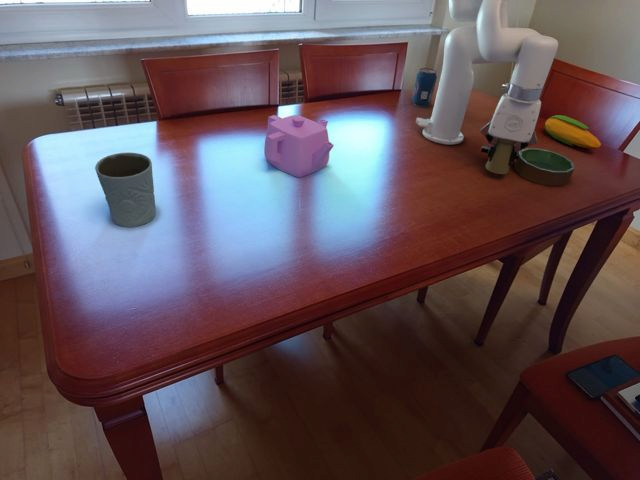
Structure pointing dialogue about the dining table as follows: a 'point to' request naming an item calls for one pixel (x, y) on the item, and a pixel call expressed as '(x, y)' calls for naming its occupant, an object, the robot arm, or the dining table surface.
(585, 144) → the corn
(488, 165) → the cork
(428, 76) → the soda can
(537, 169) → the pan
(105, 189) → the gray embossed cup
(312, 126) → the teakettle
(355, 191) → the dining table surface
